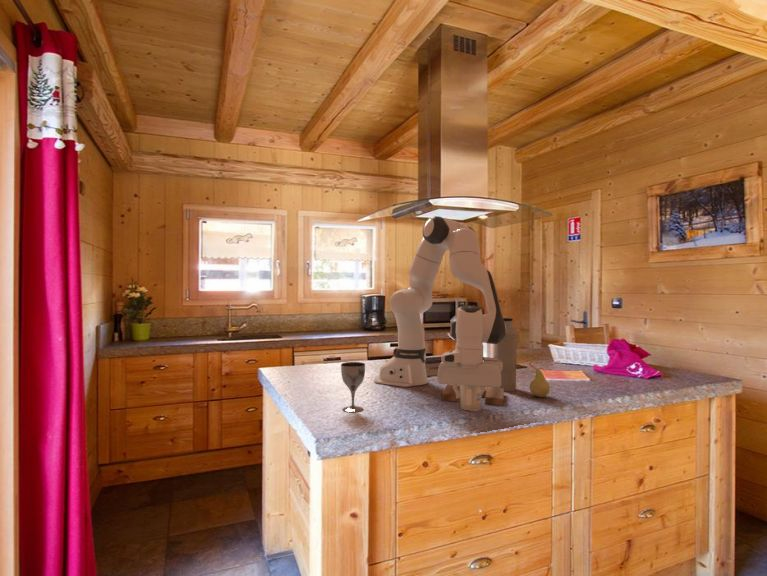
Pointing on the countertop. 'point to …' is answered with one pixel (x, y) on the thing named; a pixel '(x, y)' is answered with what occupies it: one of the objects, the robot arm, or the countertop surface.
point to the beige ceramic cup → (470, 398)
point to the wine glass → (353, 381)
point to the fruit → (539, 384)
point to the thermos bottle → (508, 356)
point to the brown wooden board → (490, 395)
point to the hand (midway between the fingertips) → (468, 399)
